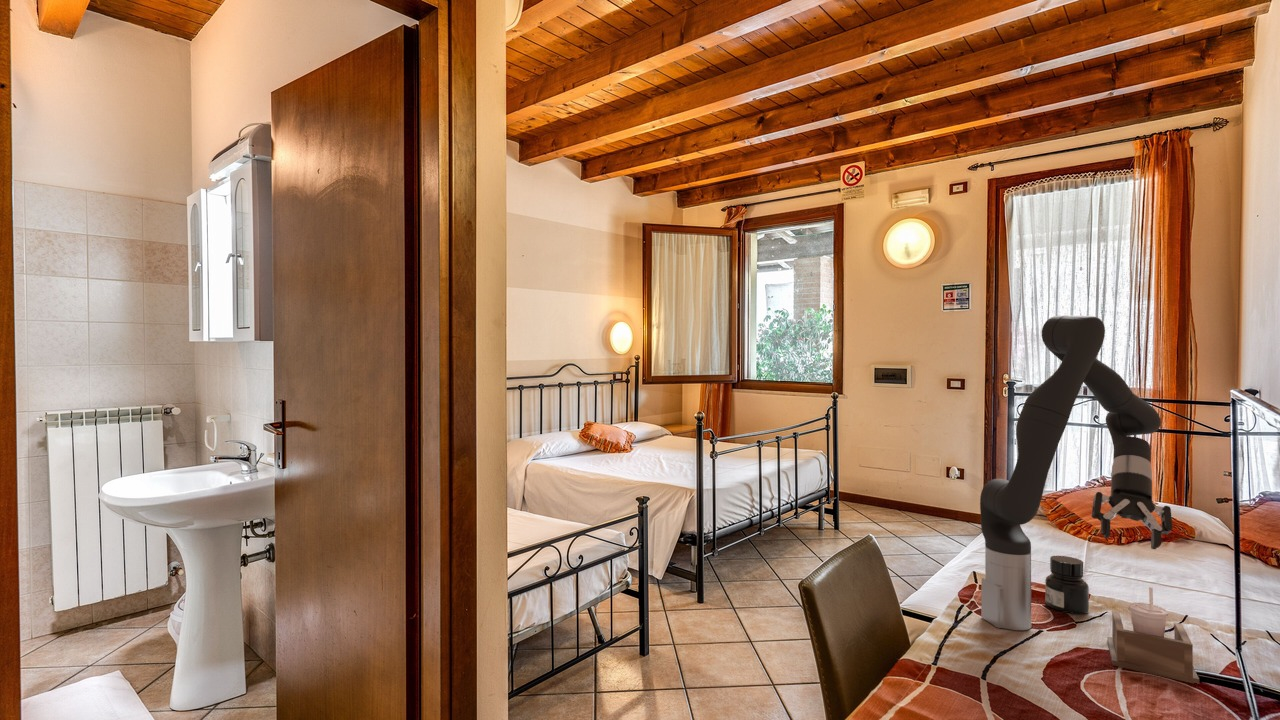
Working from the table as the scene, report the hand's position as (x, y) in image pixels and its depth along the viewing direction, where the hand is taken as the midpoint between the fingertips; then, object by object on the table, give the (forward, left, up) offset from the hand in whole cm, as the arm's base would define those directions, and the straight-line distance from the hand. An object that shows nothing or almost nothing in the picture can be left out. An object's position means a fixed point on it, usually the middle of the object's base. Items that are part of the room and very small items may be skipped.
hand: (1130, 542), depth 136 cm
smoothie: (-7, -12, -20) cm, 24 cm away
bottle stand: (-7, -12, -21) cm, 25 cm away
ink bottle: (-2, +15, -21) cm, 26 cm away
